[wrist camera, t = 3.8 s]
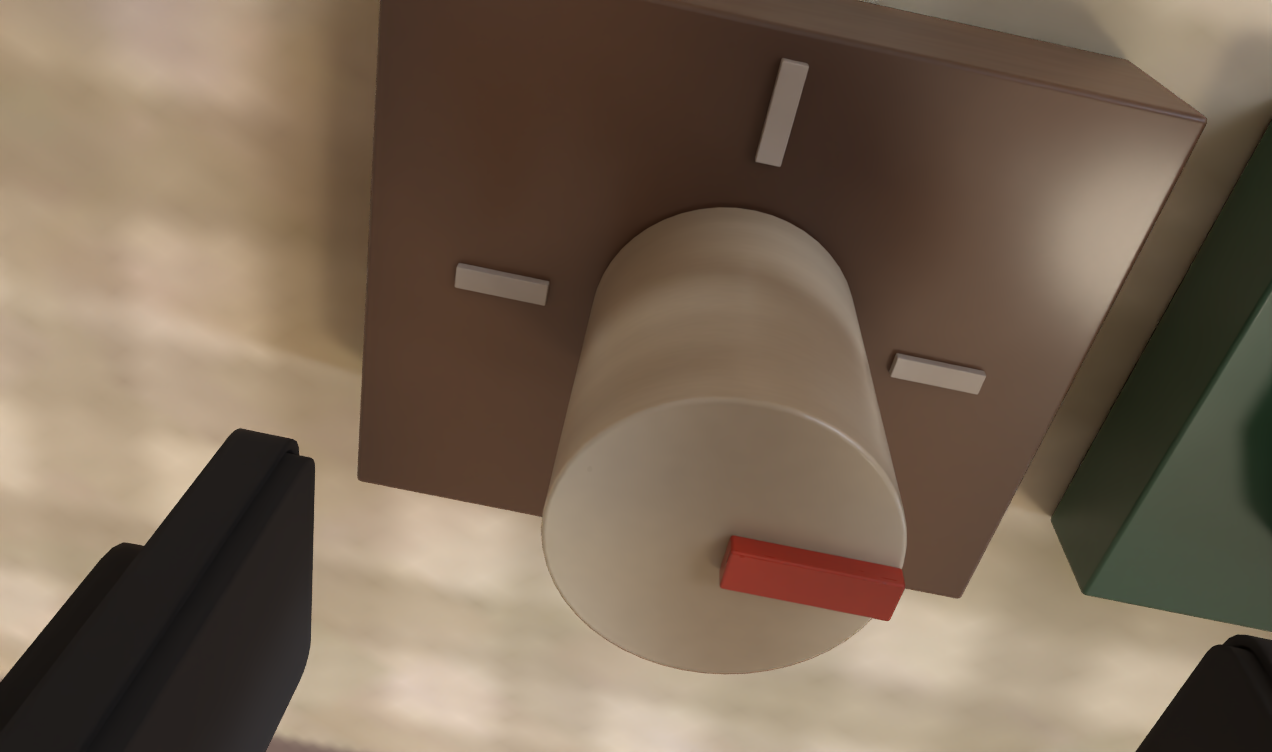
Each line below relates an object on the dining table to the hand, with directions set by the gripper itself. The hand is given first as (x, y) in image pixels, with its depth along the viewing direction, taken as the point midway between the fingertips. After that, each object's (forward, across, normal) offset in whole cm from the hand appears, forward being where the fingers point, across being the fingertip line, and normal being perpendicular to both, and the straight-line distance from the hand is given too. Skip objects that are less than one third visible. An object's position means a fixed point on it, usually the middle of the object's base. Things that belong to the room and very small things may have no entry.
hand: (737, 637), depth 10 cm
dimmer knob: (+6, 0, 0) cm, 6 cm away
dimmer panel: (+9, 0, 0) cm, 9 cm away
